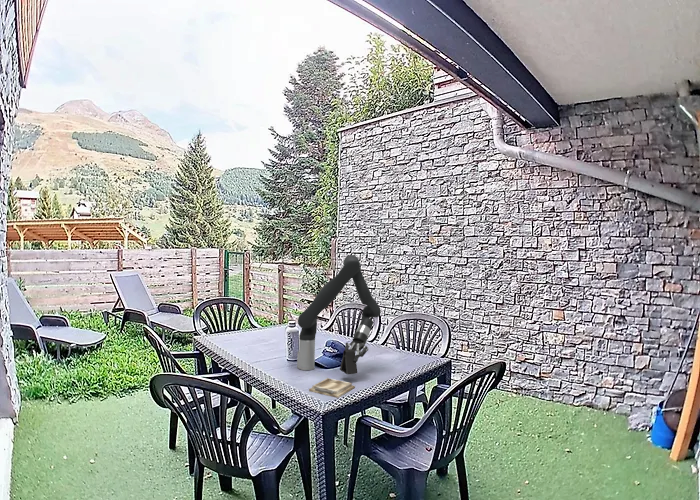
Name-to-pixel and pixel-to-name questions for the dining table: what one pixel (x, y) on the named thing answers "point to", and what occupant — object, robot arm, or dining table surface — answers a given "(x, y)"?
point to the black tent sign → (348, 362)
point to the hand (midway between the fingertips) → (350, 361)
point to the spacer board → (332, 387)
